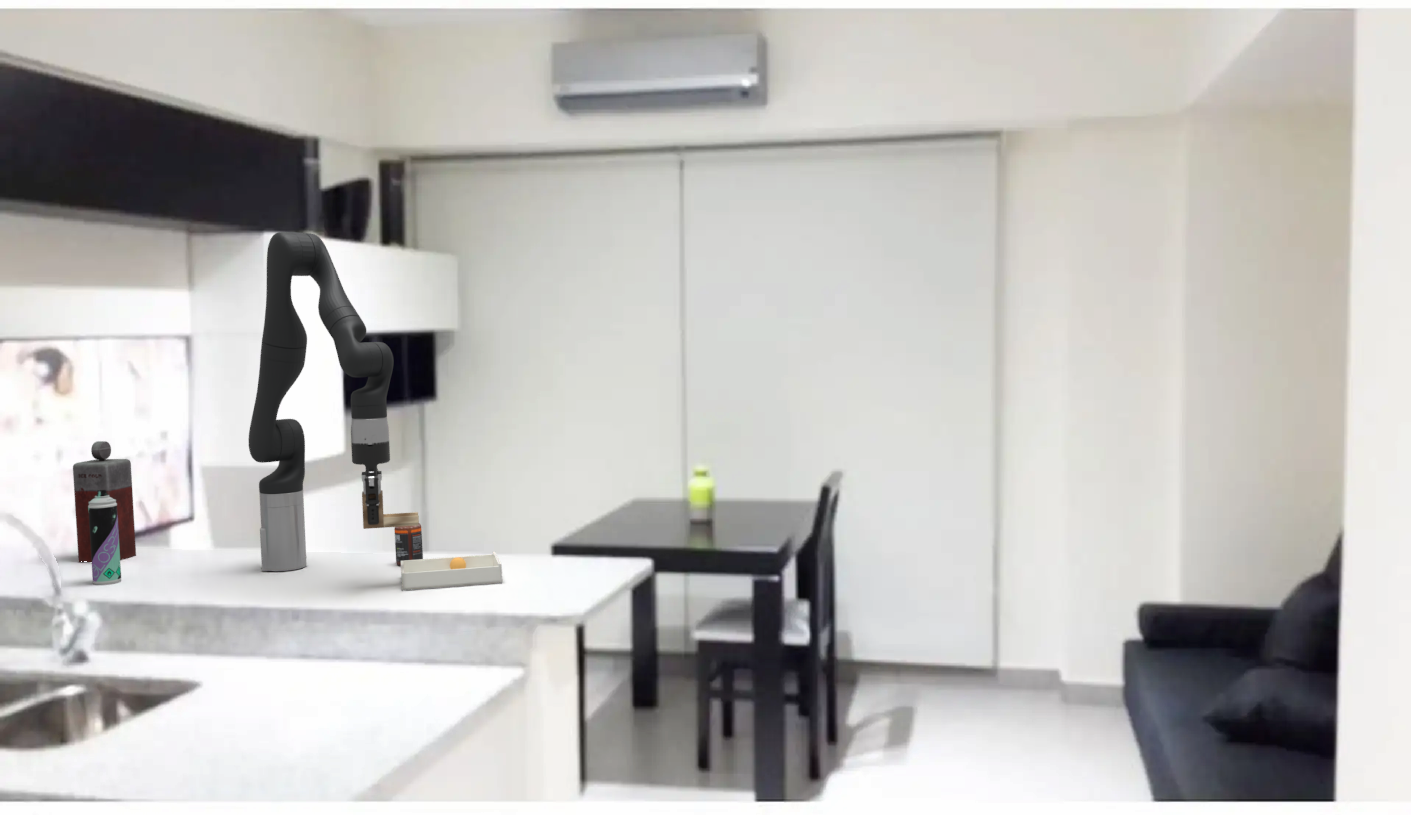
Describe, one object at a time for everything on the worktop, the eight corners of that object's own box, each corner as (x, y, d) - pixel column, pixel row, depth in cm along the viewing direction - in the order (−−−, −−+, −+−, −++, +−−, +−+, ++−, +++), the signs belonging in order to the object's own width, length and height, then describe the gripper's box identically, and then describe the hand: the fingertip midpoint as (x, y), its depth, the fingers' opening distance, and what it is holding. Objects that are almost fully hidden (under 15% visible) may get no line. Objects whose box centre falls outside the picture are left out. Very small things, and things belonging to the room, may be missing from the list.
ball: (449, 571, 253) (451, 555, 254) (447, 572, 256) (450, 557, 257) (465, 573, 254) (468, 557, 254) (463, 575, 257) (466, 559, 258)
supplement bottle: (426, 561, 272) (424, 511, 271) (418, 566, 266) (416, 516, 265) (401, 561, 272) (399, 512, 272) (392, 566, 266) (389, 516, 266)
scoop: (363, 528, 243) (362, 494, 243) (363, 524, 248) (362, 491, 248) (419, 525, 246) (417, 491, 246) (418, 521, 251) (417, 488, 250)
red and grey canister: (94, 554, 289) (87, 439, 287) (136, 555, 287) (130, 439, 285) (69, 562, 281) (61, 443, 279) (112, 562, 279) (105, 443, 277)
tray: (402, 590, 242) (401, 571, 241) (401, 576, 255) (400, 558, 255) (502, 583, 247) (501, 563, 246) (496, 569, 260) (495, 551, 260)
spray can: (92, 586, 253) (87, 492, 252) (92, 581, 258) (87, 489, 257) (121, 582, 256) (116, 490, 254) (121, 578, 261) (115, 487, 259)
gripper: (352, 437, 251) (355, 517, 252) (350, 444, 237) (353, 529, 238) (389, 436, 253) (392, 515, 254) (389, 442, 239) (392, 526, 240)
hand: (373, 521), depth 246 cm, fingers closed on scoop, 5 cm apart
